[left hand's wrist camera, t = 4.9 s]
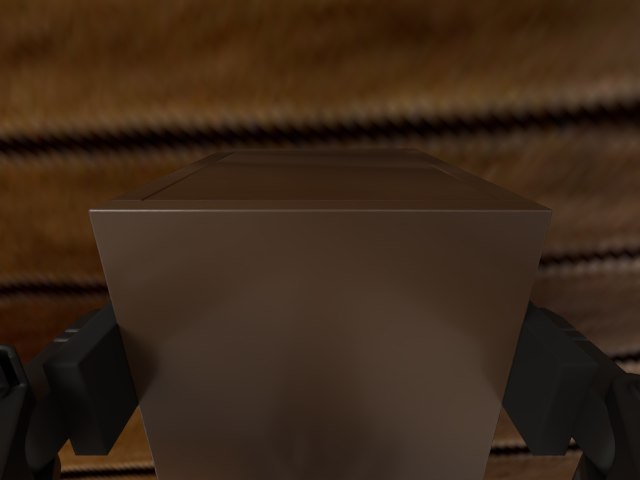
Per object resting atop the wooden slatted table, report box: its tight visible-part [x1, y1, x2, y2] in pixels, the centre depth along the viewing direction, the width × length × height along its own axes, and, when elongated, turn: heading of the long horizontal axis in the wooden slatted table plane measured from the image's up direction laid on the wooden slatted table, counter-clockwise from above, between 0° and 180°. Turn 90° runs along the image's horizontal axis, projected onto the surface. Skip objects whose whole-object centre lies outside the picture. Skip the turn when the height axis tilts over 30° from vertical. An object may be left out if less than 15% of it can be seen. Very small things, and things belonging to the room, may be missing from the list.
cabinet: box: [89, 149, 552, 480], centre depth 16 cm, size 17×10×11 cm, turn 0°
